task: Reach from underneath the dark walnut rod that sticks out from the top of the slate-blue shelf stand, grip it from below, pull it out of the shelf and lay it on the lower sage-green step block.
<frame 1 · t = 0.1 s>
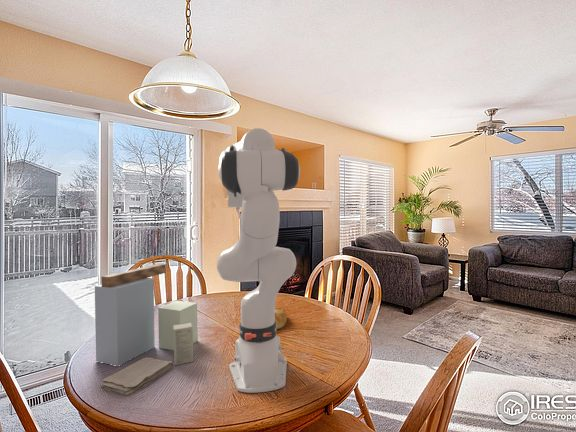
hand: (251, 218, 131), 48 cm above the table, tool pointing down, fingers open, 8 cm apart
shelf stand: (126, 354, 110), on the table
washcloth: (138, 379, 95), on the table
croissant: (275, 325, 138), on the table
step block: (178, 344, 118), on the table
skincare box: (183, 361, 105), on the table
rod: (136, 279, 115), point 26 cm above the table, touching shelf stand
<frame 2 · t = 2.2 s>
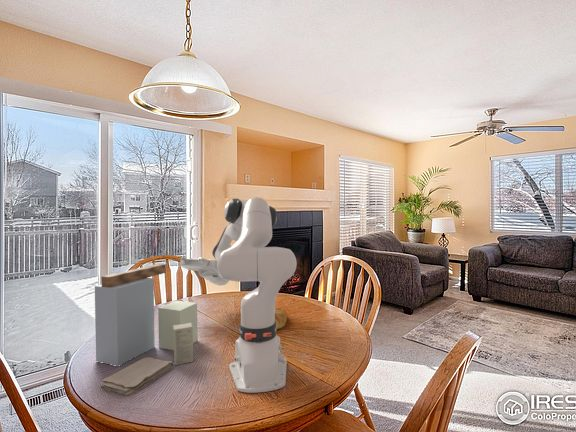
hand: (191, 258, 137), 30 cm above the table, tool pointing upward, fingers open, 8 cm apart
nothing on the table moved.
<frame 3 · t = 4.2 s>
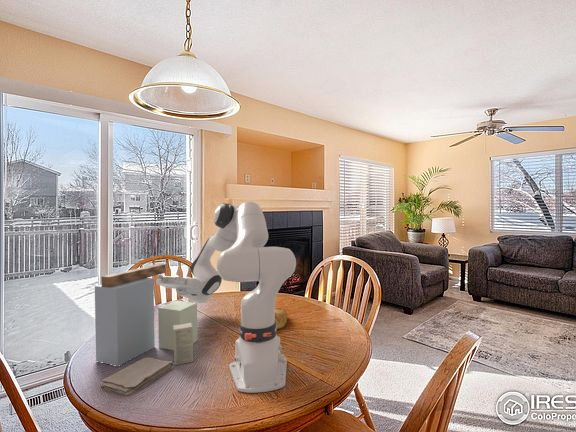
hand: (167, 277, 130), 24 cm above the table, tool pointing upward, fingers open, 8 cm apart
nothing on the table moved.
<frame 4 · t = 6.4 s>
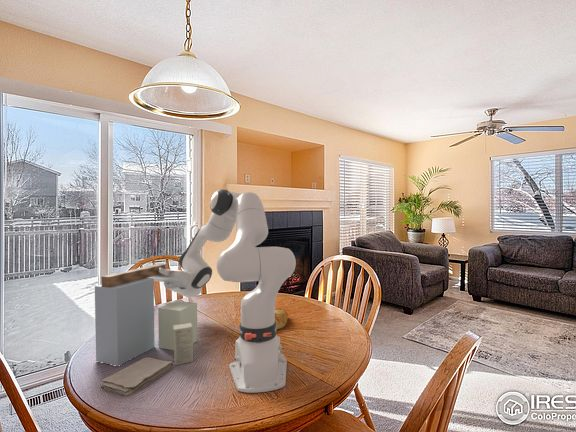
hand: (153, 269, 122), 28 cm above the table, tool pointing upward, fingers closed on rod, 3 cm apart
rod: (136, 279, 115), point 26 cm above the table, touching gripper, shelf stand
everything else where it was.
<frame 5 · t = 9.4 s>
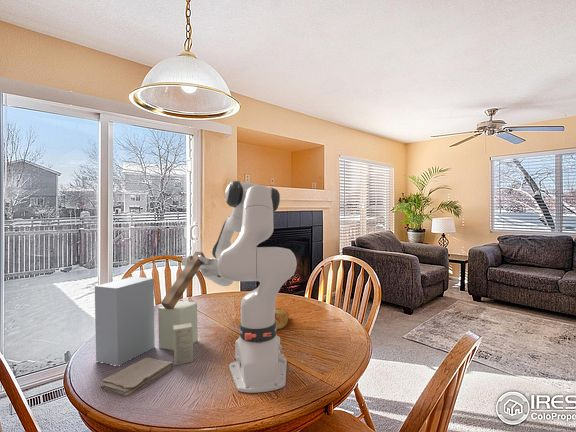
hand: (194, 257, 128), 32 cm above the table, tool pointing upward, fingers closed on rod, 3 cm apart
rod: (186, 281, 123), point 23 cm above the table, tilted 39°, touching gripper
everything else where it was.
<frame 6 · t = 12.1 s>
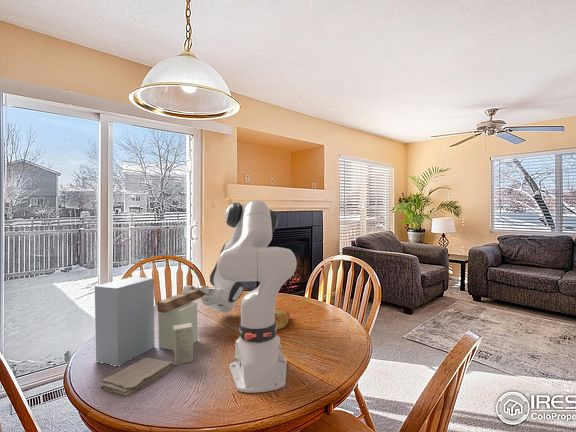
hand: (194, 287, 128), 19 cm above the table, tool pointing upward, fingers closed on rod, 3 cm apart
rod: (185, 302, 122), point 15 cm above the table, touching gripper, step block
everything else where it was.
when the fingers open (19 cm above the table, at t = 12.1 s): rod stays where it is, resting on step block.
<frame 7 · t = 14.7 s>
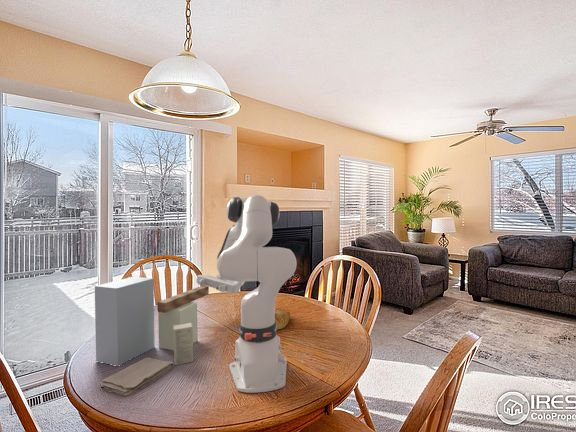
hand: (208, 285, 135), 19 cm above the table, tool horizontal, fingers open, 8 cm apart
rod: (185, 302, 122), point 15 cm above the table, touching step block
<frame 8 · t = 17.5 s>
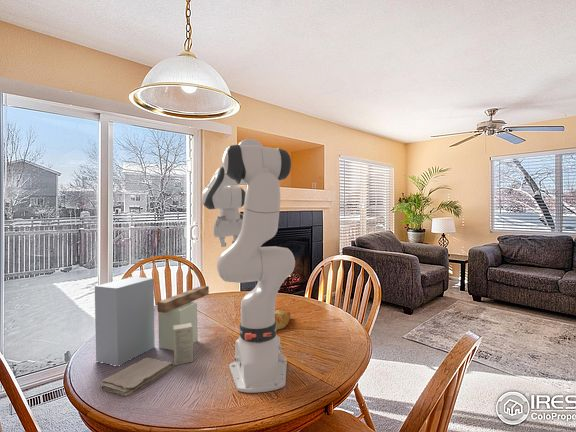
hand: (229, 245, 142), 35 cm above the table, tool pointing down, fingers open, 8 cm apart
at the end: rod inside the target area on the step block (4.3 cm from its centre), point 15.0 cm above the step block's base; the gripper is holding nothing; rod touching step block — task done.
